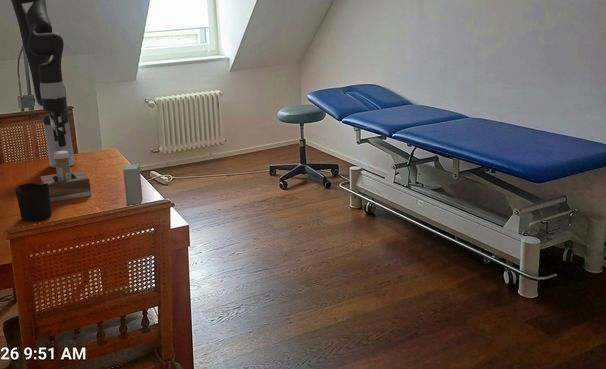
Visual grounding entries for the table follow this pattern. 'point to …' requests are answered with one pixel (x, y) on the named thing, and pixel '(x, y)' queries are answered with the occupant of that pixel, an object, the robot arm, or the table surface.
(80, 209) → the table surface
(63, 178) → the sprinkles bottle
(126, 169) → the skincare box
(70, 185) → the socket block
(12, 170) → the table surface
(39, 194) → the pen holder
